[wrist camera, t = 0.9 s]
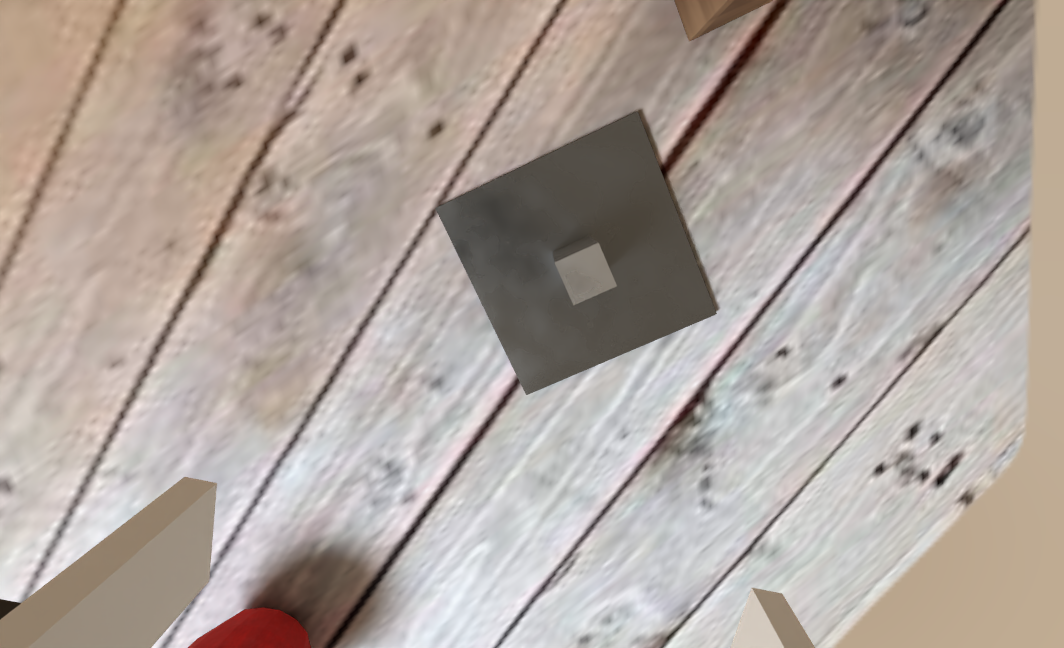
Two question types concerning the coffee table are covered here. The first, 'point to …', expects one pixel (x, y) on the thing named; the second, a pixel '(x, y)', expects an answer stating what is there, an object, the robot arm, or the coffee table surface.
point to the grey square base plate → (579, 255)
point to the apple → (256, 631)
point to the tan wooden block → (712, 13)
